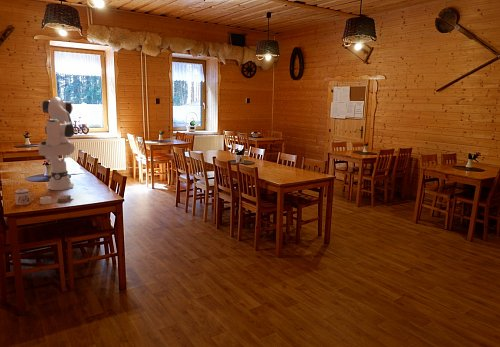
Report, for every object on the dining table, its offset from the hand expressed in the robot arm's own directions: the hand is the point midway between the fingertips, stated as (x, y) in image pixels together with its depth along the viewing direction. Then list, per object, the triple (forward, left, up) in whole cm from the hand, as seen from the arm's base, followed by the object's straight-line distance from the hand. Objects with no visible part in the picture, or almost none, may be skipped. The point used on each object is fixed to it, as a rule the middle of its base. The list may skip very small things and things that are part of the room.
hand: (55, 161), depth 267 cm
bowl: (+8, -6, -29) cm, 31 cm away
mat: (+4, +5, -29) cm, 30 cm away
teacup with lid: (+3, -21, -29) cm, 36 cm away
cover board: (+4, +5, -28) cm, 29 cm away
